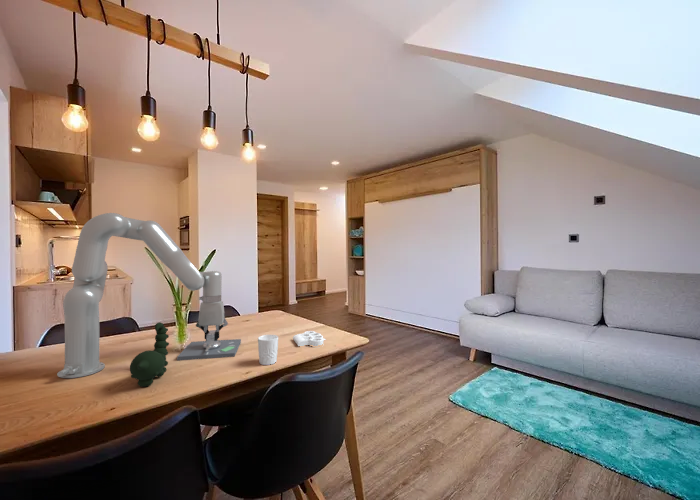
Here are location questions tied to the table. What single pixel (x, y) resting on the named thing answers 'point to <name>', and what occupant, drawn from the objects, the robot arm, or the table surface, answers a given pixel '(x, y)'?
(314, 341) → the white brass knuckles
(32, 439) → the table surface
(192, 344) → the dial plate
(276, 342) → the white cup
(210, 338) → the gray cube on spoon
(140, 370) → the toy figurine
